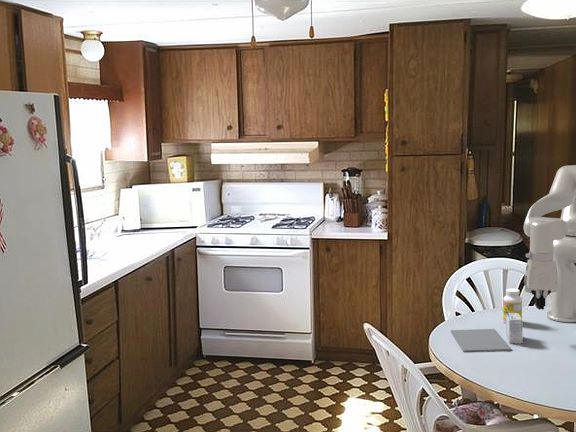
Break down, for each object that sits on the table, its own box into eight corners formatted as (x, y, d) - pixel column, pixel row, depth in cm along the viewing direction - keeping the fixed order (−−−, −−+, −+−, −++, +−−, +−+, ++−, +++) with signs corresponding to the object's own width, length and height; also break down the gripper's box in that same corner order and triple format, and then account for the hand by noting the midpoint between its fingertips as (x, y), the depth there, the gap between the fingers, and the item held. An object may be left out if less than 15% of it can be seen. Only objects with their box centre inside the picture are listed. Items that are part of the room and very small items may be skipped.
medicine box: (522, 344, 212) (523, 320, 210) (509, 343, 213) (509, 319, 211) (518, 336, 219) (519, 312, 218) (505, 335, 220) (506, 312, 219)
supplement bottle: (499, 320, 236) (500, 288, 234) (515, 318, 237) (515, 286, 235) (509, 326, 230) (509, 293, 228) (525, 324, 231) (525, 291, 229)
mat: (450, 331, 227) (450, 330, 227) (494, 330, 226) (494, 328, 226) (463, 351, 207) (463, 350, 207) (511, 350, 206) (511, 348, 206)
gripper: (523, 259, 207) (521, 311, 210) (568, 258, 207) (566, 311, 209) (515, 254, 215) (514, 305, 217) (559, 254, 214) (557, 305, 217)
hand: (540, 308), depth 213 cm, fingers closed
